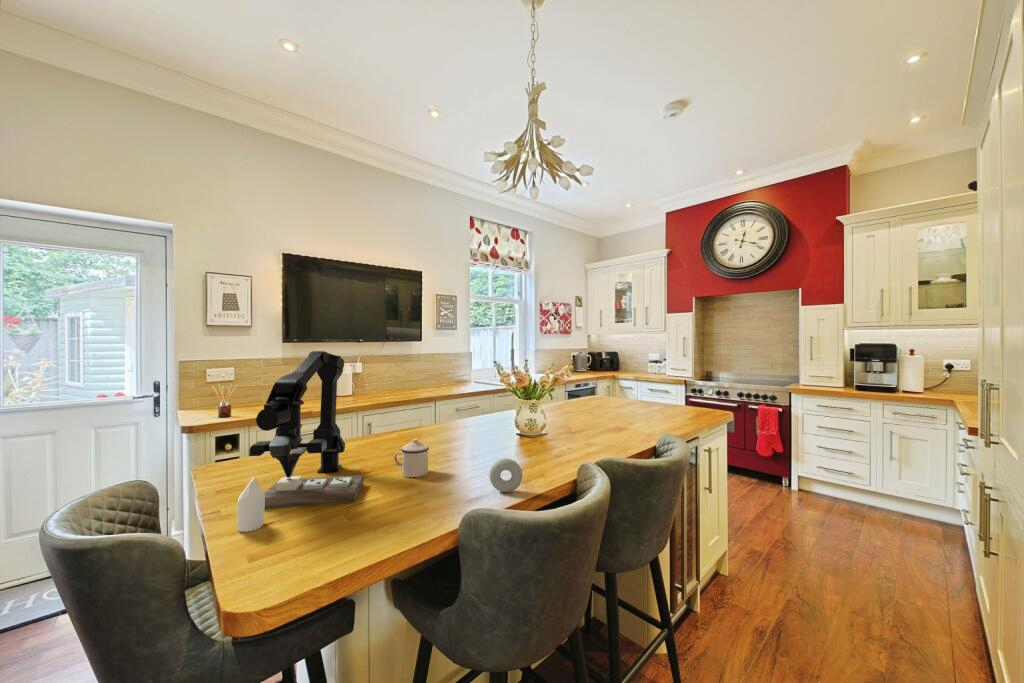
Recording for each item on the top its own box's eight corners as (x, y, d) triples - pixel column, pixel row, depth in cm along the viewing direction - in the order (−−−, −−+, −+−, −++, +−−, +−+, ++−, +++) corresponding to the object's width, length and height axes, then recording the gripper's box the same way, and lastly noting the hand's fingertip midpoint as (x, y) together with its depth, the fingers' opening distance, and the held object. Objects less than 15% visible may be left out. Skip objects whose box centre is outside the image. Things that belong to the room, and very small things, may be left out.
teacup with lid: (432, 469, 138) (432, 436, 138) (423, 479, 129) (423, 443, 129) (399, 468, 139) (399, 435, 139) (388, 477, 130) (388, 442, 130)
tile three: (334, 488, 118) (334, 477, 118) (351, 487, 119) (351, 476, 119) (329, 494, 113) (329, 483, 113) (348, 493, 114) (348, 482, 114)
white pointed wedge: (234, 476, 96) (261, 471, 100) (234, 526, 96) (261, 519, 100) (240, 483, 91) (267, 477, 95) (239, 534, 91) (267, 527, 95)
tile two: (308, 489, 116) (308, 479, 116) (326, 488, 117) (326, 478, 117) (303, 496, 111) (303, 485, 111) (322, 495, 112) (322, 484, 112)
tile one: (282, 487, 115) (282, 476, 115) (301, 486, 116) (301, 475, 116) (275, 493, 110) (275, 482, 110) (295, 492, 111) (295, 481, 111)
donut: (488, 494, 116) (488, 460, 116) (489, 489, 120) (489, 456, 120) (522, 494, 116) (522, 460, 116) (522, 490, 120) (522, 457, 120)
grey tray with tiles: (279, 489, 119) (279, 479, 119) (363, 484, 123) (363, 474, 123) (258, 509, 105) (258, 497, 105) (354, 502, 110) (354, 491, 110)
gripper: (239, 430, 103) (239, 489, 103) (315, 427, 107) (315, 485, 107) (258, 421, 114) (258, 475, 114) (327, 419, 118) (326, 471, 118)
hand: (289, 477), depth 113 cm, fingers closed
